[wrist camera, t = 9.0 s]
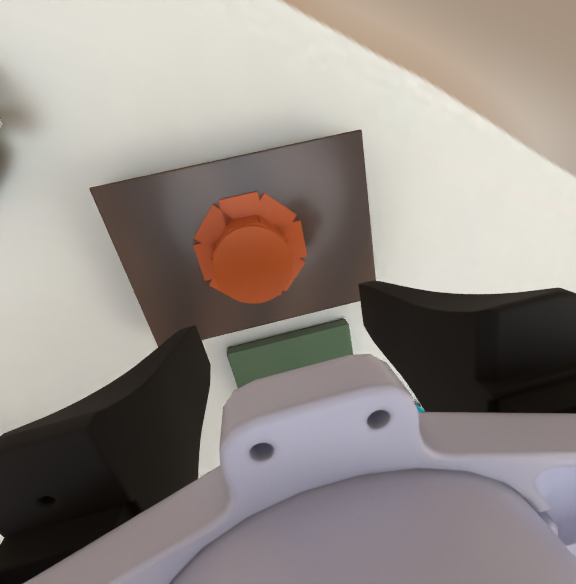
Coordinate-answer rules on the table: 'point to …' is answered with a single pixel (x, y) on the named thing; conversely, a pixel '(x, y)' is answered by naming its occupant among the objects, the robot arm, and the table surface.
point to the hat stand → (289, 351)
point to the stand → (208, 190)
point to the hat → (250, 247)
